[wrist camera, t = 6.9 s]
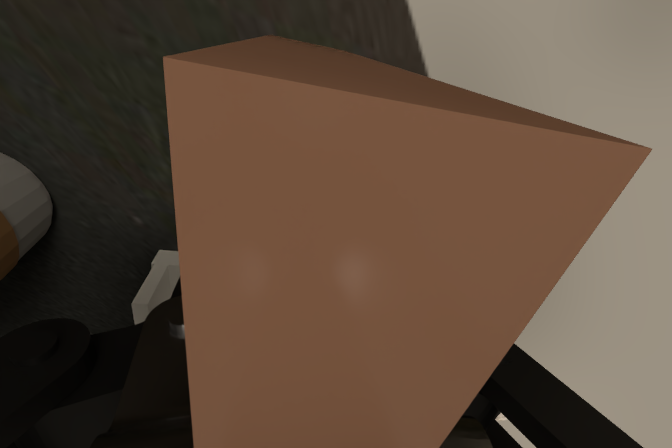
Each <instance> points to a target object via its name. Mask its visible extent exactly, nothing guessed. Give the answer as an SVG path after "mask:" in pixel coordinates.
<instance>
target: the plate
mask: <svg viewBox="0 0 672 448" xmlns="http://www.w3.org/2000/svg"><path fill="white" fill-rule="evenodd" d="M163 64H164V76H165V89H166V102H167V114H168V127H169V140H170V152H171V165H172V178H173V190H174V203H175V216H176V228H177V241H178V254H179V266H180V279H181V292H182V304H183V317H184V330H185V342H186V355H187V368H188V380H189V393H190V406H191V418H192V431H193V444H194V448H439V447H440V446H441V444H442V443H443V441H444V440H445V439H446V437H447V436H448V434H449V433H450V432H451V430H452V429H453V427H454V426H455V425H456V423H457V422H458V420H459V419H460V418H461V416H462V415H463V413H464V412H465V411H466V409H467V408H468V406H469V405H470V404H471V402H472V401H473V399H474V398H475V397H476V395H477V394H478V392H479V391H480V390H481V388H482V387H483V385H484V384H485V383H486V381H487V380H488V378H489V377H490V376H491V374H492V373H493V371H494V370H495V369H496V367H497V366H498V364H499V363H500V362H501V360H502V359H503V357H504V356H505V355H506V353H507V352H508V350H509V349H510V348H511V346H512V345H513V343H514V342H515V341H516V339H517V338H518V337H519V335H520V334H521V332H522V331H523V330H524V328H525V327H526V325H527V324H528V323H529V321H530V320H531V318H532V317H533V315H534V314H535V313H536V311H537V310H538V309H539V307H540V306H541V304H542V303H543V301H544V300H545V298H546V297H547V296H548V294H549V293H550V292H551V290H552V289H553V287H554V286H555V285H556V283H557V282H558V280H559V279H560V277H561V276H562V275H563V274H564V272H565V270H566V269H567V268H568V266H569V265H570V264H571V262H572V261H573V260H574V258H575V257H576V255H577V254H578V252H579V251H580V249H581V248H582V247H583V246H584V244H585V243H586V241H587V240H588V238H589V237H590V236H591V234H592V233H593V231H594V230H595V228H596V227H597V226H598V224H599V223H600V222H601V220H602V219H603V217H604V216H605V215H606V213H607V212H608V211H609V209H610V208H611V206H612V205H613V204H614V202H615V201H616V199H617V198H618V196H619V195H620V194H621V192H622V191H623V190H624V188H625V187H626V185H627V184H628V182H629V181H630V179H631V178H632V177H633V176H634V174H635V173H636V171H637V170H638V169H639V167H640V166H641V164H642V163H643V162H644V160H645V159H646V157H647V156H648V155H649V153H650V152H651V150H652V149H651V148H648V147H644V146H642V145H638V144H635V143H632V142H629V141H626V140H623V139H620V138H616V137H613V136H610V135H607V134H604V133H601V132H598V131H595V130H591V129H588V128H585V127H582V126H579V125H576V124H572V123H569V122H566V121H563V120H560V119H556V118H554V117H551V116H547V115H544V114H541V113H538V112H535V111H531V110H529V109H525V108H522V107H519V106H516V105H513V104H510V103H507V102H504V101H500V100H497V99H494V98H491V97H488V96H485V95H481V94H478V93H475V92H472V91H469V90H466V89H463V88H460V87H456V86H453V85H450V84H447V83H444V82H441V81H437V80H435V79H431V78H428V77H425V76H422V75H419V74H416V73H413V72H409V71H406V70H403V69H400V68H397V67H394V66H391V65H387V64H384V63H381V62H378V61H375V60H372V59H369V58H365V57H362V56H359V55H356V54H353V53H350V52H347V51H343V50H338V49H333V48H329V47H324V46H319V45H315V44H310V43H306V42H301V41H296V40H292V39H287V38H283V37H278V36H273V35H267V36H263V37H258V38H253V39H248V40H243V41H238V42H233V43H228V44H224V45H219V46H214V47H209V48H204V49H199V50H194V51H189V52H185V53H180V54H175V55H170V56H165V57H163Z"/></svg>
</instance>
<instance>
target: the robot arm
mask: <svg viewBox="0 0 672 448" xmlns="http://www.w3.org/2000/svg"><path fill="white" fill-rule="evenodd" d="M500 413H502V414H503V415H504V416H505V417H506V418H507V419H508V420H509V421H510V422H511V423H512V424H513V425H514V426H515V427H516V428H517V429H518V430H519V431H520V432H521V433H522V434H523V435H525V437H526V438H527V439H528V440H529V441H531V442H532V444H534V445H535V447H536V448H643V447H642V446H640V445H639V444H638V443H637V442H636V441H634V440H633V439H632V438H631V437H629V436H628V435H627V434H626V433H625V432H623V431H622V430H621V429H620V428H618V427H617V426H616V425H615V424H613V423H612V422H611V421H610V420H608V419H607V418H606V417H605V416H603V415H602V414H601V413H600V412H598V411H597V410H596V409H595V408H593V407H592V406H591V405H590V404H589V403H587V402H586V401H585V400H584V399H582V398H581V397H580V396H579V395H577V394H576V393H575V392H574V391H572V390H571V389H570V388H569V387H567V386H566V385H565V384H564V383H563V382H561V381H560V380H558V379H557V378H556V377H555V376H554V375H553V374H551V373H550V372H549V371H548V370H546V369H545V368H544V367H543V366H541V365H540V364H539V363H538V362H536V361H535V360H534V359H533V358H532V357H530V356H529V355H528V354H527V353H525V352H524V351H523V350H522V349H520V348H519V347H518V346H517V345H515V344H514V343H513V345H512V346H511V348H510V349H509V350H508V352H507V353H506V355H505V356H504V357H503V359H502V360H501V362H500V363H499V364H498V366H497V367H496V369H495V370H494V371H493V373H492V374H491V376H490V377H489V378H488V380H487V381H486V383H485V384H484V385H483V387H482V388H481V390H480V391H479V392H478V394H477V395H476V397H475V398H474V399H473V401H472V402H471V404H470V405H469V406H468V408H467V409H466V411H465V412H464V413H463V415H462V416H461V418H460V419H459V420H458V422H457V423H456V425H455V426H454V427H453V429H452V430H451V432H450V433H449V434H448V436H447V437H446V439H445V440H444V441H443V443H442V444H441V446H440V447H439V448H522V447H521V446H520V445H519V444H518V443H517V442H516V441H515V440H514V439H513V438H512V437H511V436H510V435H509V434H508V433H507V431H505V429H504V428H503V427H502V426H501V425H499V423H498V422H497V421H496V420H495V419H496V417H497V416H498V415H499V414H500ZM0 448H194V444H193V431H192V418H191V406H190V393H189V380H188V368H187V355H186V342H185V330H184V317H183V304H182V292H181V279H180V277H179V279H178V281H177V284H176V286H175V288H174V291H173V293H172V295H171V298H170V299H168V300H166V301H164V302H162V303H160V304H159V305H158V306H156V307H155V308H154V309H153V310H152V311H151V312H150V313H149V314H148V316H147V317H146V319H145V321H143V322H141V323H139V324H136V325H133V326H130V327H126V328H121V329H117V330H112V331H107V332H103V333H98V334H93V335H90V333H89V330H88V328H87V327H86V326H85V325H84V324H82V323H81V322H79V321H76V320H72V319H65V318H57V319H47V320H42V321H38V322H34V323H31V324H28V325H25V326H23V327H20V328H18V329H16V330H14V331H12V332H10V333H8V334H6V335H4V336H3V337H1V338H0Z"/></svg>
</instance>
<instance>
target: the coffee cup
mask: <svg viewBox="0 0 672 448" xmlns="http://www.w3.org/2000/svg"><path fill="white" fill-rule="evenodd" d="M52 210H53V205H52V202H51V198H50V195H49V193H48V191H47V190H46V188H45V186H44V185H43V183H42V182H41V181H40V180H39V179H38V178H37V177H36V176H35V175H34V174H33V172H32V171H30V170H29V169H28V168H26V167H25V166H23V165H22V164H21V163H19V162H18V161H16V160H14V159H12V158H11V157H9V156H7V155H5V154H3V153H1V152H0V280H1V279H2V278H3V277H5V276H6V275H7V274H8V273H9V272H10V271H11V270H12V269H13V268H14V267H15V266H16V265H17V262H18V260H19V259H20V258H21V257H22V256H23V255H24V254H25V253H26V252H27V251H28V250H30V249H31V248H32V247H33V246H34V245H35V244H36V243H37V242H38V241H39V240H40V239H41V238H42V237H43V236H44V235H45V234H46V232H47V231H48V229H49V227H50V225H51V218H52Z"/></svg>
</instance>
